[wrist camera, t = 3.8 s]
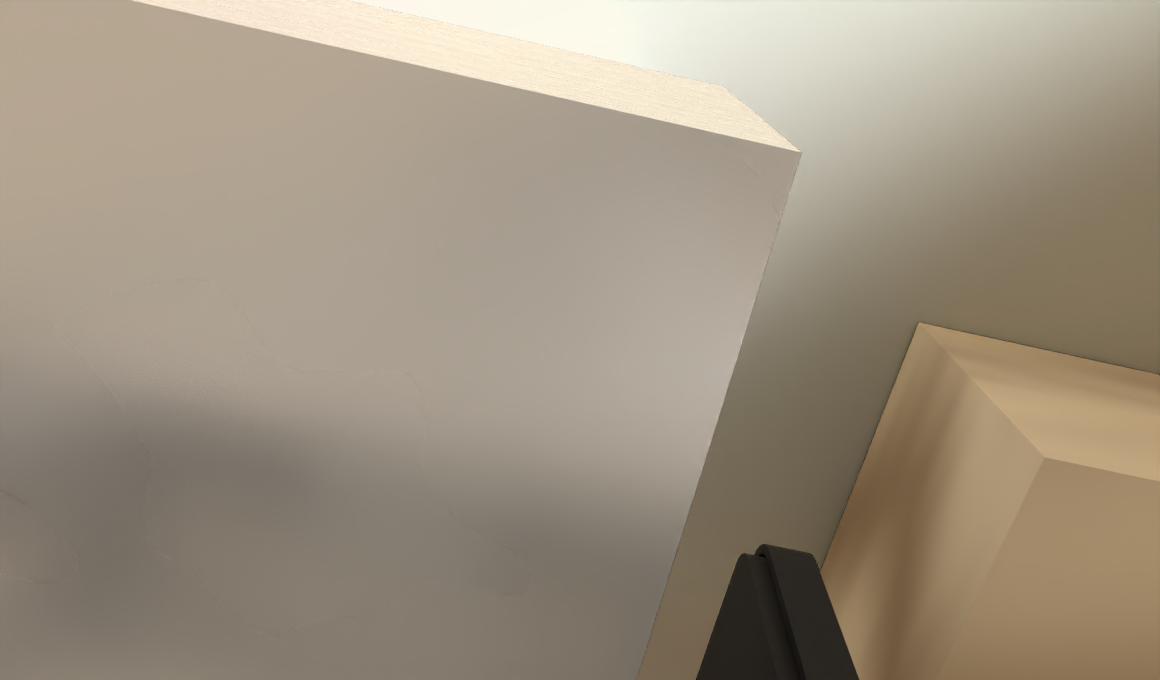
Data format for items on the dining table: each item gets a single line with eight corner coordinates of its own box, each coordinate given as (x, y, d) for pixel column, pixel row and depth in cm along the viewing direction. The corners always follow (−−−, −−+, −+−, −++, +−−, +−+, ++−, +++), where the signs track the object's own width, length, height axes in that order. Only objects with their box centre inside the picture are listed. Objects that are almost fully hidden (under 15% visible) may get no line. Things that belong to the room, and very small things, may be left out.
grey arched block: (382, -22, 11) (-52, -42, 4) (677, 46, 11) (800, 152, 4) (299, 671, 16) (28, 1272, 8) (513, 710, 16) (430, 1334, 9)
